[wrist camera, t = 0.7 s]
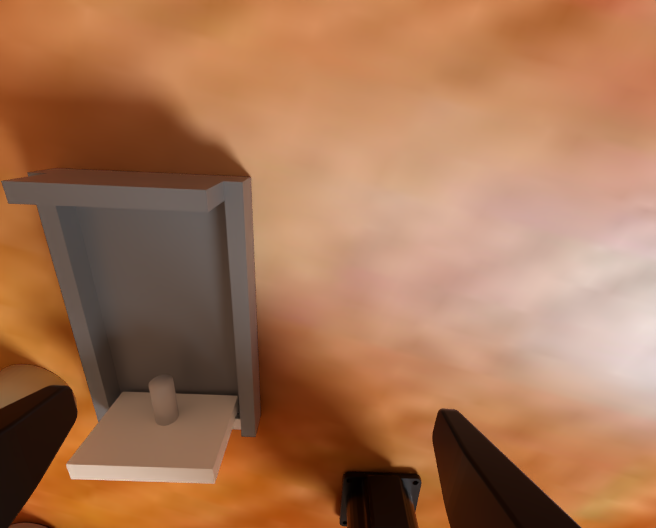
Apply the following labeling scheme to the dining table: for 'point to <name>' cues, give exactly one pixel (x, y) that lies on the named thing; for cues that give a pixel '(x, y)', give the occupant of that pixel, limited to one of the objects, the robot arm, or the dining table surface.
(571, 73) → the dining table surface
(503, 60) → the dining table surface
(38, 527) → the soda can
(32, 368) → the jar
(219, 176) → the lane
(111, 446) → the pusher
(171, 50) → the dining table surface
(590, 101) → the dining table surface
